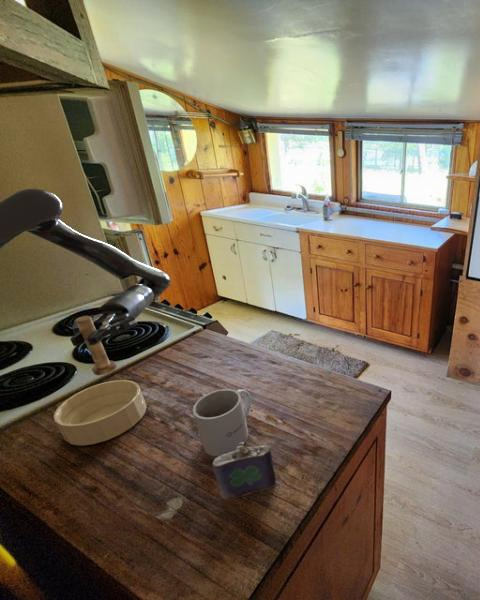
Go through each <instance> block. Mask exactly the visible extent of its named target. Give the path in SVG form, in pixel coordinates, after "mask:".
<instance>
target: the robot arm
mask: <svg viewBox="0 0 480 600" xmlns="http://www.w3.org/2000/svg"><path fill="white" fill-rule="evenodd" d="M63 211H64V208H63V203H62V201H61V200H60V198H59V197H58V196H57V195H56V194H54V193H52V192H50V191H47V190H45V189H41V188H25V189H20V190H18V191H15V192H14V193H12V194H11V195H9V196H7V197H5V198H4V199H3V200H0V251H1V250H2V249H3V248H5V247H6V246H7V245H8V244H9V243H10V242H12V240H14V239H15V238H17V237H18V236H20V235H21V234H22V235H23V233H25V232H27V233H30V234H32V235H34V236H36V237H38V238H41V239H43V240H45V241H47V242H50V243H51V244H54V245H56V246H58V247H60V248H62V249H65V250H66V251H69V252H71V253H72V254H75V255H77V256H78V257H81V258H83V259H84V260H86V261H88V262H90V263H91V264H93V265H95V266H96V267H98V268H100V269H102V270H104V271H105V272H106V273H108V274H110V275H111V276H113V277H115V278H117V279H119V280H122V281H125V280H128V279H129V278H131V277H139V278H140V279H139V280H138V281H137V282H136V283H134V284H133V285H130V286H128V287H127V288H126V289H125V290H123V291H121V292H120V293H117V294H115V295H114V296H113V297H112V298H110V299H109V300H108V301H106V302H105V303H103V304H102V305H100V307H99V308H98V309H97V313H96V314H95V315H92V316H91V319H92V321H93V323H94V326H95V328H96V331H95V332H93V333H92V334H91V335H90V336H89V337H88V338H87V339H88V342H89V344H90V345H95V344H96V343H98V342H100V341H101V342H102V340H103V339H104V338H108V337H110V336H111V335H112V336H119V335H120V334H122V333H124V332H126V331H128V330H130V329H132V328H135V327H137V326H138V321H137V319H138V317H139V316H140V315H141V314H142V313H143V312H144V311H145V309H147V307H149V306H150V305H151V304H152V303H153V302H154V301H155V300H156V299H158V298H159V297H160V296H161V295H162V294H163V293H164V292H165V291H166V290H168V288H169V287H170V286H171V284H172V280H171V277H170V276H169V275H168V274H167V273H166V272H164V271H162V270H160V269H158V268H155V267H152V266H150V265H147V264H145V263H142V262H139V261H137V260H136V259H134V258H133V257H130V256H129V255H128V254H126V253H124V252H123V251H121V250H120V249H118V248H116V247H115V246H113V245H111V244H108V243H105V242H103V241H101V240H98V239H96V238H95V239H94V238H91V237H89V236H86V235H84V234H82V233H79V232H78V231H76V230H74V229H72V228H71V227H70V226H68V225H67V224H65V223H64V222H63V221H61V218H62V215H63ZM71 329H72V331H73V332H72V333H74V335H73V336H71V337H70V339H69V340H70V342H71V344H72V345H73V347H79V346H81V345H82V344H83V343H85V340H84V338H83V336H82V334H81V331H80V329H79V327H78V325H77V322H76V319H73V324H72V328H71Z"/></svg>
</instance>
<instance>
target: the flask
mask: <svg viewBox="0 0 480 600" xmlns="http://www.w3.org/2000/svg"><path fill="white" fill-rule="evenodd" d="M239 444H240V445H241V444H243V445H241V446H238V447H237V449H236V451H232V452H230V453H227V454H224V455H221V456H216V457H215V458H214V460H213V461H212V470H213V473H214V476H215V479H216V481H217V486H218V488H219V493H220V497H221V498H222V500H223V501H230V500H235V498H240V497H244V496H245V497H246V496H250V495H251V494H252V493H254V492H255V493H258V492H260V491H266V490H270V489H272V488H273V487H274V486H275V485H276V481H277V480H276V479H277V478H276V473H275V468H274V463H273V457H272V451H271V449H270V447H269V446H268V445H258V446H256V445H255V446H245V443H244V442H241V443H239ZM237 445H238V444H237Z"/></svg>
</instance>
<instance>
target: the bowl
mask: <svg viewBox="0 0 480 600" xmlns="http://www.w3.org/2000/svg"><path fill="white" fill-rule="evenodd" d="M146 411H147V403H146V401H145V398H144V395H143V391H142V390H141V387H140V385H139V383H137V382H135V381H133V380H127V379H119V380H110V381H105V382H102V383H98V384H95V385H92V386H90V387H87V388H84V389H82V390H80V391H79V392H76V393H75V394H73V395H72V396H70V397H68V398H67V399H66V400H64V401H63V402H61V404H60V405H59V406H58V407H57V408H56V410H55V412H54V414H53V419H54V423H55V425H56V426H57V428H58V430H59V432H60V434H61V436H62V437H63V439H64V441H66V442H67V443H68V444H70V445H71V446H72V445H73V446H79V447H80V446H81V447H82V446H89V445H90V446H91V445H95V444H99V443H103V442H105V441H109V440H111V439H114V438H116V437H118V436H120V435H122V434H123V433H125V432H127V431H129V430H130V429H132V428H133V427H134V426H135V425H136V424H137V423H138V422H139V421H141V420H142V418H143V417H144V415H145V414H146Z"/></svg>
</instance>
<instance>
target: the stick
mask: <svg viewBox="0 0 480 600" xmlns="http://www.w3.org/2000/svg"><path fill="white" fill-rule="evenodd" d="M91 317H92V316H90V315H83V316H79V317H77V318H76V319H75V320H76V322H77V325H78V327H79V329H80V331H81V334H82V336H83V338H84V340H85V341H84V343H85V345H86V347H87V349H88V353H89V354H90V356H91V358H92V360H93V363H94V365H93V366H92V368H91V371H92V373H93V375H95V376H103V375H106V374H110V373H111V372H113V371H115V370H116V368H117V364H116V362H115V360H109V357H108V354H107V352H106V349H105V347H104V344H103V343H102V340H101V341H100V342H98V343H96V344H95V345H90V344H89V342H88V339H87V338H88V337H89V336H90V335H91V334H92V333H93V332H95V331H96V328H95V326H94V323H93V321H92V319H91Z"/></svg>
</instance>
